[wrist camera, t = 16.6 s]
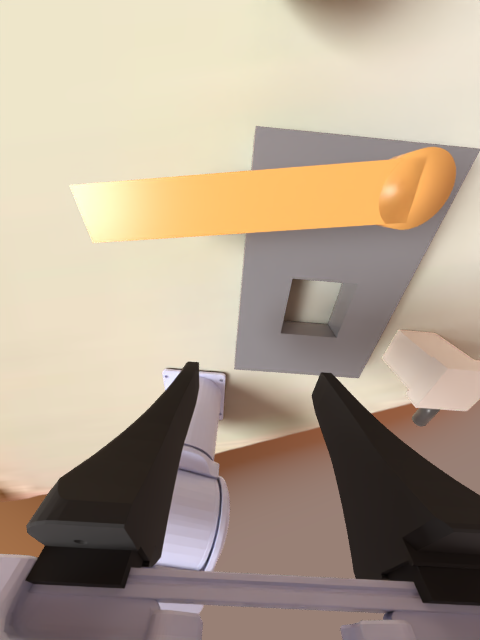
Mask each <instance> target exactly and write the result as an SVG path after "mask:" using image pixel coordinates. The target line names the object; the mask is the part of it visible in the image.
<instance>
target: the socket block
mask: <svg viewBox="0 0 480 640" xmlns="http://www.w3.org/2000/svg"><path fill="white" fill-rule="evenodd" d="M427 147H439V148H442V149H445V150H446V151H448V152H449V153H450V154H451V156H452V157H453V159H454V162H455V165H456V179H455V183H454V186H453V189H452V192H451V194H450V196H449V197H448V199H447V201H446V202H445V204H444V205H443V206H442V208H441V209H440V210H439V211H438V212H437V213H436V214H435V215H434V216H433V217H432V218H430V219H429V220H428V221H426V222H425V223H423V224H421V225H419V226H417V227H414V228H411V229H406V230H398V229H392V228H387V227H382V226H377V225H363V226H347V227H332V228H317V229H301V230H286V231H270V232H255V233H246V237H245V248H244V260H243V271H242V283H241V294H240V306H239V317H238V329H237V340H236V351H235V367H234V369H238V370H252V371H266V372H280V373H294V374H308V375H320V374H321V372H326V373H332V374H333V375H334V376H336V377H349V378H359V376H360V374H361V373H362V371H363V369H364V367H365V365H366V363H367V361H368V359H369V358H370V356H371V354H372V352H373V350H374V348H375V346H376V344H377V343H378V341H379V339H380V337H381V335H382V333H383V331H384V329H385V328H386V326H387V324H388V322H389V320H390V318H391V316H392V314H393V313H394V311H395V309H396V307H397V305H398V303H399V301H400V299H401V297H402V296H403V294H404V292H405V290H406V288H407V286H408V284H409V282H410V281H411V279H412V277H413V275H414V273H415V271H416V269H417V267H418V266H419V264H420V262H421V260H422V258H423V256H424V254H425V252H426V251H427V249H428V247H429V245H430V243H431V241H432V239H433V237H434V236H435V234H436V232H437V230H438V228H439V226H440V224H441V222H442V221H443V219H444V217H445V215H446V213H447V211H448V209H449V207H450V205H451V204H452V202H453V200H454V198H455V196H456V194H457V192H458V190H459V189H460V187H461V185H462V183H463V181H464V179H465V177H466V175H467V174H468V172H469V170H470V168H471V166H472V164H473V162H474V160H475V159H476V157H477V155H478V153H479V151H480V149H477V148H467V147H457V146H447V145H437V144H428V143H418V142H408V141H398V140H388V139H378V138H368V137H359V136H349V135H339V134H329V133H319V132H309V131H299V130H290V129H280V128H270V127H260V126H256V129H255V135H254V145H253V156H252V168H251V171H252V170H265V169H277V168H290V167H303V166H315V165H328V164H340V163H353V162H366V161H378V160H389V159H391V158H393V157H395V156H399V155H402V154H405V153H409V152H412V151H416V150H419V149H423V148H427ZM292 279H303V280H315V281H327V282H339V283H342V286H341V288H340V291H339V294H338V297H337V300H336V302H335V305H334V308H333V311H332V314H331V317H330V319H329V322H328V324H316V323H303V322H290V321H283V320H284V315H285V311H286V306H287V302H288V297H289V293H290V288H291V283H292Z"/></svg>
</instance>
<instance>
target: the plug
mask: <svg viewBox="0 0 480 640" xmlns="http://www.w3.org/2000/svg"><path fill="white" fill-rule="evenodd" d="M382 360H383V361H384V362H385V363H386V364H387V365H388V366H389V368H390V369H391V370H392V371H393V372H394V373H395V375H396V376H397V377H398V378H399V379H400V380H401V381H402V383H403V384H404V385H405V386H406V387H407V388H408V389H409V390H408V391H407V392H406V394H405V395H406V396H407V398H408V399H409V400H410V401H411V402H412V404H413V405H414V406H415V407H416V408H419V409H418V410H417V411H416V413H415V414H414V415H413V417H412V420H413V422H414V423H415V424H416V425H418V426H425V425H426V424H427V423H428V422H429V421H430V420H431V419H432V418H433V417H434V416H435V415H436V414H437V413H438V412H439V410H440V409H442V410H456V411H467V410H469V409H470V408H471V407H472V406H473V405H474V404H475V403H476V402H477V401H478V400H479V399H480V360H474V359H472V358H471V357H470V356H468V355H467V354H465V353H464V352H462V351H461V350H459V349H458V348H457V347H455V346H454V345H452V344H451V343H449V342H448V341H446V340H445V339H444V338H442V337H441V336H439V335H438V334H436V333H434V332H422V331H410V330H398V331H397V333H396V334H395V336H394V338H393V340H392V341H391V343H390V345H389V346H388V348H387V350H386V352H385V353H384V355H383V357H382Z"/></svg>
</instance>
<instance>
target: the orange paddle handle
mask: <svg viewBox="0 0 480 640" xmlns="http://www.w3.org/2000/svg"><path fill="white" fill-rule="evenodd" d="M455 179H456V165H455V162H454V159H453V157H452V156H451V154H450V153H449V152H448V151H446V150H445V149H442V148H439V147H427V148H423V149H419V150H416V151H412V152H409V153H405V154H402V155H399V156H395V157H393V158H391V159H389V160H378V161H366V162H353V163H340V164H328V165H315V166H303V167H290V168H277V169H265V170H252V171H240V172H227V173H215V174H202V175H189V176H177V177H164V178H152V179H139V180H126V181H114V182H101V183H89V184H76V185H69V186H70V189H71V191H72V193H73V196H74V198H75V201H76V203H77V206H78V208H79V210H80V213H81V215H82V218H83V220H84V223H85V225H86V227H87V230H88V232H89V235H90V237H91V240H92V242H93V243H100V242H116V241H131V240H147V239H162V238H178V237H193V236H209V235H224V234H239V233H255V232H270V231H286V230H301V229H317V228H332V227H347V226H363V225H377V226H382V227H387V228H392V229H398V230H406V229H411V228H414V227H417V226H419V225H421V224H423V223H425V222H426V221H428V220H429V219H430V218H432V217H433V216H434V215H435V214H436V213H437V212H438V211H439V210H440V209H441V208H442V206H443V205H444V204H445V202H446V201H447V199H448V197H449V196H450V194H451V192H452V189H453V186H454V183H455Z"/></svg>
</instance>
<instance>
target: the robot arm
mask: <svg viewBox="0 0 480 640" xmlns="http://www.w3.org/2000/svg"><path fill="white" fill-rule="evenodd" d="M162 374H163V380H164V386H165V392H164V393H163V394H162V395H161V396H160V397H159V398H158V399H157V400H156V401H155V403H154V404H153V405H152V406H151V407H150V408H149V409H148V410H147V411H146V412H145V413H144V414H143V415H141V416H140V417H139V418H138V419H137V420H136V421H135V422H134V423H133V424H132V425H130V426H129V427H128V428H127V429H126V430H125V431H124V432H122V433H121V434H120V435H119V436H117V437H116V438H115V439H114V440H112V441H111V442H110V443H108V444H107V445H106V446H105V447H103V448H102V449H101V450H99V451H98V452H97V453H95V454H94V455H93V456H91V457H90V458H89V459H87V460H86V461H84V462H83V463H81V464H80V465H78V466H77V467H75V468H74V469H73V470H71V471H70V472H68V473H67V474H65V475H64V476H62V477H61V478H60V479H59V480H58V482H57V483H56V484H55V485H54V487H53V488H52V489H51V490H50V492H49V493H48V495H47V496H46V497H45V499H44V501H43V502H42V503H41V505H40V506H39V508H38V509H37V511H36V512H35V514H34V515H33V517H32V519H31V520H30V522H29V523H28V524H27V533H28V534H30V535H31V536H32V537H34V538H35V539H36V540H38V541H39V542H41V543H42V544H44V545H45V547H44V549H43V550H42V552H41V554H40V556H39V557H38V558H37V557H33V556H27V555H9V554H0V640H201V638H202V628H203V622H202V620H201V617H200V615H199V613H200V612H201V610H202V609H203V605H219V606H220V605H221V606H241V607H262V608H285V609H305V610H326V611H347V612H368V613H386V614H385V615H384V617H383V620H368V621H366V620H364V621H360V622H359V623H355V624H350V625H342V626H341V634H342V638H343V640H480V495H478V494H477V493H475V492H474V491H472V490H470V489H469V488H467V487H465V486H464V485H462V484H461V483H459V482H458V481H456V480H455V479H453V478H452V477H450V476H449V475H447V474H446V473H444V472H443V471H442V470H440V469H439V468H437V467H436V466H434V465H433V464H432V463H430V462H429V461H427V460H426V459H425V458H423V457H422V456H421V455H419V454H418V453H417V452H416V451H414V450H413V449H412V448H410V447H409V446H408V445H406V444H405V443H404V442H403V441H401V440H400V439H399V438H398V437H397V436H395V435H394V434H393V433H392V432H391V431H389V430H388V429H387V428H386V427H385V426H384V425H383V424H381V423H380V422H379V421H378V420H377V419H376V418H375V417H374V416H373V415H372V414H371V413H370V412H369V411H368V410H367V409H366V408H365V407H364V406H363V405H362V404H361V403H360V402H359V401H358V400H357V399H356V398H355V397H354V396H353V395H352V394H351V393H350V392H349V391H348V390H347V389H346V388H345V387H344V386H343V385H342V384H341V383H340V381H339V380H338V379H337V378H336V377H335V376H334V375H333V374H332V373H326V372H321V374H320V376H319V379H318V381H317V383H316V386H315V388H314V391H313V393H312V399H313V404H314V409H315V413H316V416H317V419H318V422H319V425H320V428H321V431H322V434H323V437H324V440H325V442H326V445H327V448H328V451H329V454H330V457H331V461H332V464H333V468H334V472H335V476H336V480H337V485H338V489H339V494H340V498H341V503H342V507H343V513H344V518H345V523H346V527H347V533H348V539H349V545H350V550H351V556H352V563H353V570H354V574H355V577H356V579H348V578H326V577H309V576H308V577H307V576H289V575H270V574H269V575H268V574H251V573H250V574H249V573H230V572H213V571H214V568H215V565H216V562H217V560H218V558H219V556H220V554H221V552H222V549H223V547H224V543H225V540H226V536H227V531H228V525H229V515H230V500H229V493H228V489H227V486H226V482H225V480H224V479H223V478H222V477H221V476H218V474H219V464H218V463H216V462H214V454H215V446H216V437H217V429H218V420H222V419H223V411H224V395H225V378H226V375H225V374H224V373H216V372H202V371H199V362H187V363H186V364H185V366H184V367H183V369H182V370H174V369H164V370H163V373H162ZM167 375H168V376H167ZM221 379H223V380H221Z"/></svg>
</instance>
